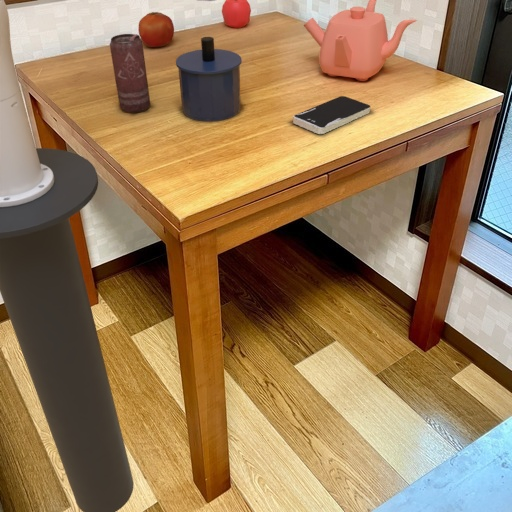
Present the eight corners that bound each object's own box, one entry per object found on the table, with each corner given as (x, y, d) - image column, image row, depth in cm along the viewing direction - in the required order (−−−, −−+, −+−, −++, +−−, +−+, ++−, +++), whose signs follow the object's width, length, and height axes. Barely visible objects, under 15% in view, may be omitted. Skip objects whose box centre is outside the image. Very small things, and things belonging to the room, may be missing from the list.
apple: (216, 26, 164) (214, -5, 159) (235, 19, 169) (234, -11, 164) (238, 31, 160) (237, 0, 155) (257, 24, 165) (256, -6, 160)
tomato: (147, 53, 147) (143, 19, 142) (135, 42, 154) (130, 10, 149) (182, 47, 151) (179, 14, 146) (168, 37, 157) (165, 5, 152)
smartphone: (372, 106, 117) (321, 129, 109) (371, 112, 118) (320, 135, 110) (342, 95, 122) (291, 116, 114) (342, 101, 122) (290, 123, 114)
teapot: (369, 53, 145) (375, -7, 137) (409, 79, 131) (418, 14, 123) (300, 63, 140) (302, 1, 132) (333, 91, 126) (338, 24, 118)
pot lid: (202, 82, 108) (200, 54, 104) (163, 64, 115) (160, 37, 112) (255, 66, 114) (254, 39, 111) (215, 50, 122) (213, 24, 119)
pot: (205, 126, 114) (202, 78, 108) (171, 108, 121) (166, 61, 115) (252, 109, 119) (251, 63, 114) (216, 93, 127) (214, 48, 121)
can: (157, 105, 122) (149, 35, 113) (136, 116, 118) (126, 44, 109) (135, 99, 125) (125, 30, 116) (113, 109, 120) (102, 39, 112)
